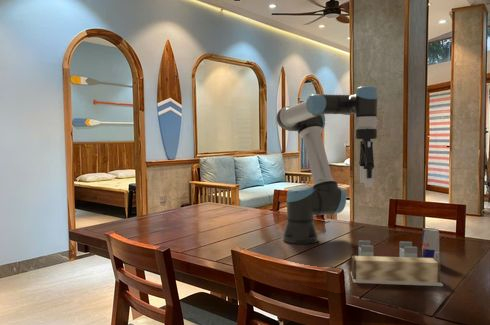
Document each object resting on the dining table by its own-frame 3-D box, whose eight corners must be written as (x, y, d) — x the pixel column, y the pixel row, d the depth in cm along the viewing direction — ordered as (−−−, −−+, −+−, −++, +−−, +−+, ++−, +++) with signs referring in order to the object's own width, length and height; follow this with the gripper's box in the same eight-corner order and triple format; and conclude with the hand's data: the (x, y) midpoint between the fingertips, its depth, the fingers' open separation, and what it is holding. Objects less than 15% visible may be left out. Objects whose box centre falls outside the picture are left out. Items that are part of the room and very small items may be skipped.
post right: (404, 270, 135) (404, 247, 134) (399, 263, 142) (399, 241, 142) (417, 271, 134) (417, 247, 134) (411, 264, 142) (411, 241, 141)
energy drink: (419, 261, 145) (419, 228, 145) (433, 260, 146) (434, 227, 145) (427, 265, 140) (427, 231, 139) (442, 265, 140) (442, 230, 140)
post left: (361, 269, 137) (361, 246, 137) (358, 262, 144) (358, 240, 144) (373, 269, 136) (373, 246, 136) (370, 263, 144) (370, 240, 143)
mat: (353, 282, 125) (353, 281, 125) (350, 273, 133) (350, 271, 133) (443, 286, 121) (443, 284, 121) (433, 276, 130) (433, 274, 129)
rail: (353, 279, 127) (353, 260, 126) (351, 273, 131) (351, 255, 131) (440, 282, 123) (440, 263, 122) (435, 276, 128) (435, 258, 127)
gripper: (382, 127, 138) (382, 189, 139) (371, 129, 163) (371, 181, 164) (360, 127, 139) (360, 189, 141) (352, 129, 164) (352, 181, 165)
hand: (366, 185), depth 152 cm, fingers open, 13 cm apart
